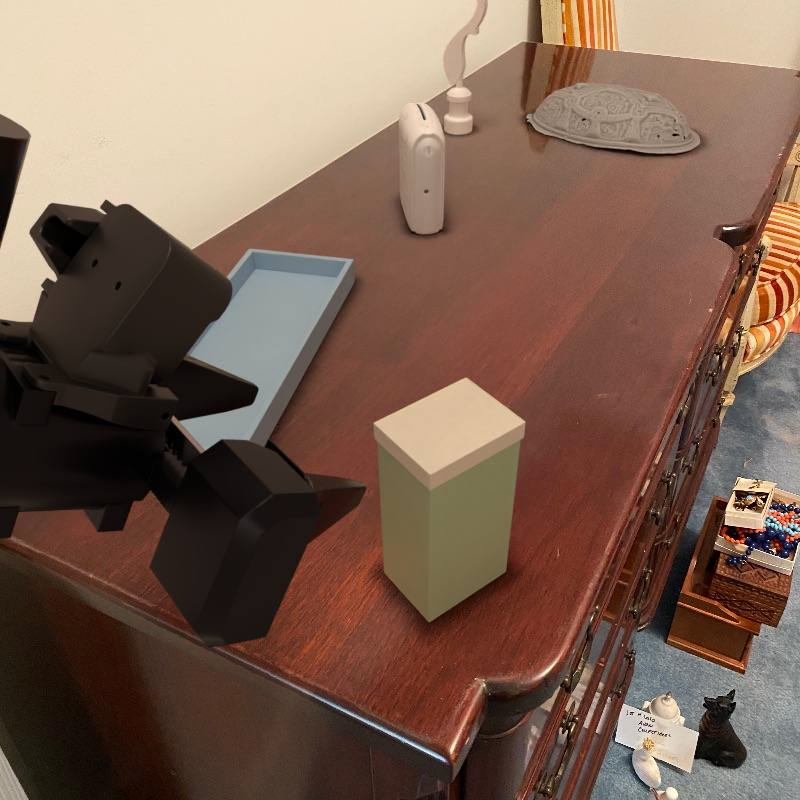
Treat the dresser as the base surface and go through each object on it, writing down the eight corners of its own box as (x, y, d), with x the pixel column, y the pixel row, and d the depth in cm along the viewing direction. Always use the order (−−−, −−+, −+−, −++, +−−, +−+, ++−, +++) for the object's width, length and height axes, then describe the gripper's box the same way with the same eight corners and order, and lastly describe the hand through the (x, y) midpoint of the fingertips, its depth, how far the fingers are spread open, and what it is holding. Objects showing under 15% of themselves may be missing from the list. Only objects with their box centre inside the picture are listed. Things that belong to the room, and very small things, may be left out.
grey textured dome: (677, 161, 98) (688, 106, 94) (506, 133, 110) (510, 83, 106) (713, 136, 108) (724, 86, 105) (554, 113, 121) (558, 67, 117)
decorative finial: (436, 131, 110) (439, -71, 94) (450, 122, 112) (454, -76, 96) (473, 138, 107) (482, -68, 91) (485, 128, 110) (497, -73, 94)
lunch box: (428, 625, 46) (429, 474, 38) (381, 572, 49) (372, 422, 41) (508, 572, 49) (526, 421, 41) (459, 525, 52) (466, 376, 44)
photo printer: (447, 234, 85) (450, 123, 77) (409, 237, 85) (408, 126, 77) (431, 195, 93) (433, 91, 85) (397, 197, 93) (395, 93, 85)
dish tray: (244, 482, 56) (239, 457, 54) (108, 459, 58) (99, 434, 56) (355, 281, 78) (353, 259, 76) (253, 270, 80) (249, 248, 78)
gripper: (141, 331, 17) (518, 386, 29) (-71, 116, 28) (262, 218, 40) (13, 704, 20) (400, 618, 32) (-132, 377, 32) (193, 402, 43)
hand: (304, 440), depth 37 cm, fingers open, 9 cm apart
